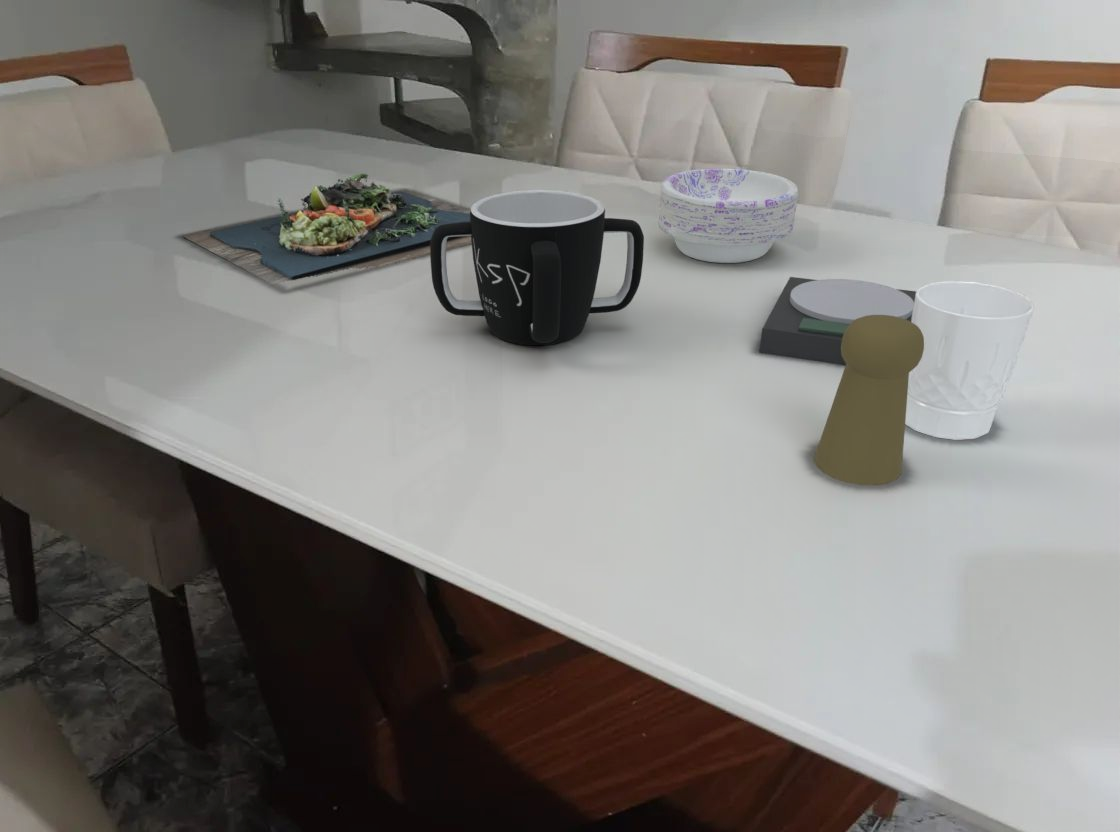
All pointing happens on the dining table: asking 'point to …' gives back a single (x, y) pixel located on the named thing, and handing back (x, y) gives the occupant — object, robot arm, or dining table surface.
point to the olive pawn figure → (870, 401)
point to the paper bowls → (726, 212)
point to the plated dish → (336, 232)
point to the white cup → (964, 356)
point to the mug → (537, 263)
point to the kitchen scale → (826, 315)
